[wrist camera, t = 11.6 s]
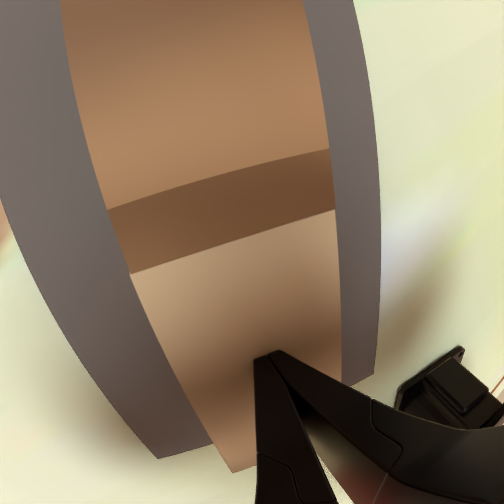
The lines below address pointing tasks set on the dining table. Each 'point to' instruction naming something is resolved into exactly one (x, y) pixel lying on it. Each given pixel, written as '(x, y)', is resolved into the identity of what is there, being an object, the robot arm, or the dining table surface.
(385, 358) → the dining table surface
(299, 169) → the wooden block
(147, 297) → the birch plank
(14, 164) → the underlay mat
